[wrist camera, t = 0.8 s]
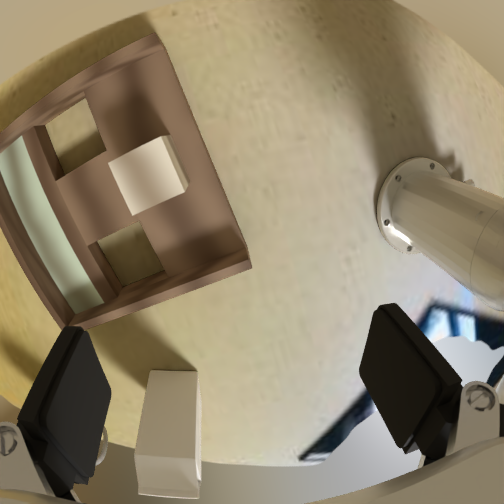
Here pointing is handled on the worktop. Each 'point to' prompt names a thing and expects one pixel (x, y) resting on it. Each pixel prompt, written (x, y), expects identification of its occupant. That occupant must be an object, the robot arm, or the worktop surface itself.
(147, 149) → the block
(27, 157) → the box
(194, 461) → the milk carton
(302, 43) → the worktop surface
